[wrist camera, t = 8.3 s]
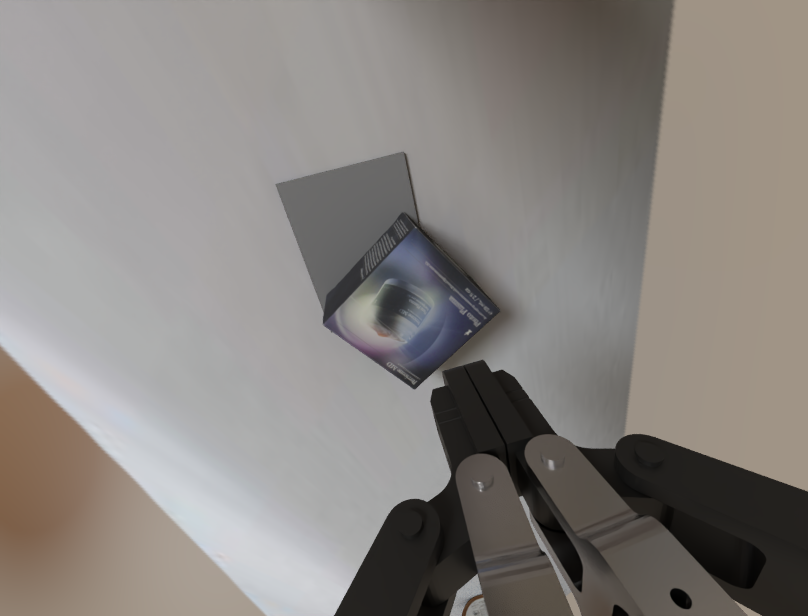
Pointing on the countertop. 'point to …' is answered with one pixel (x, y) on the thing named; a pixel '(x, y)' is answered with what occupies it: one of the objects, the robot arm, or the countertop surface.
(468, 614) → the tin
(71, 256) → the countertop surface
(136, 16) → the countertop surface
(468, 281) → the small box
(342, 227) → the mat
